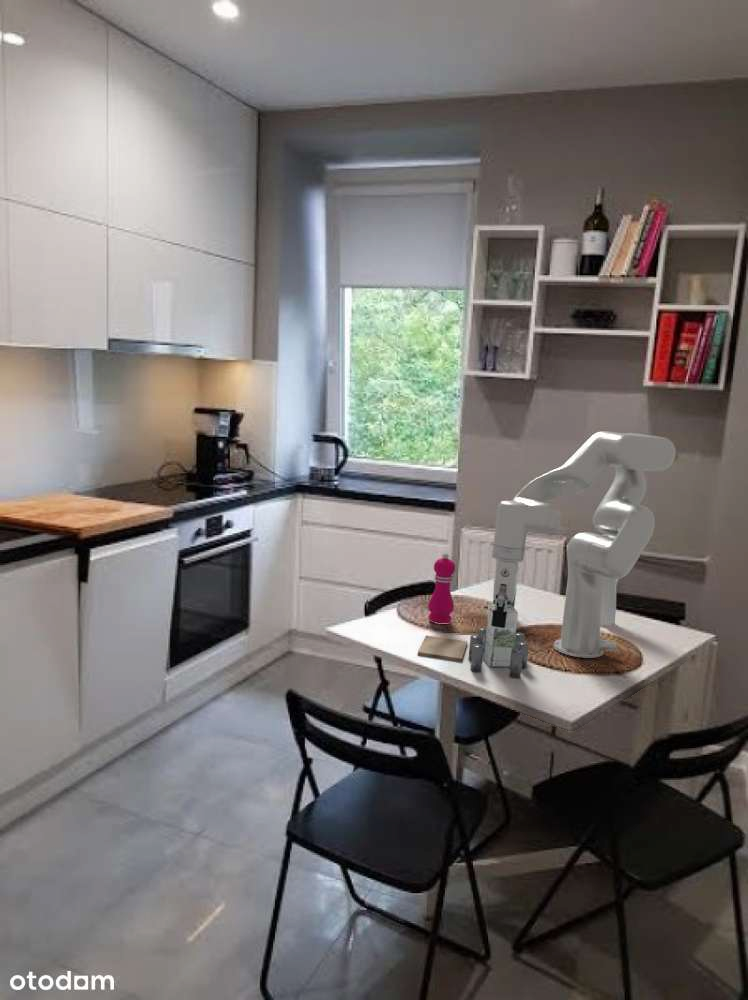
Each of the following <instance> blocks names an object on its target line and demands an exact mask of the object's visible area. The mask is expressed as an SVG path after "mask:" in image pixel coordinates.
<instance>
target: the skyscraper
mask: <svg viewBox="0 0 748 1000" xmlns="http://www.w3.org/2000/svg"><path fill="white" fill-rule="evenodd" d="M601 536H605V537H607V538H610V539H615V538H616V537H614V536H611V535H608V534H605V533H604V534H601ZM603 578H604V583H605V594H604V600H603V608H602V616H601V624H600V627H601V626H602V627H605V628H608V627H609V626H612V625H614V624H616V615H617V614H616V613H617V612H616V611H617V584H618V582H619V580H620V579H611V578H608V577H605V576H603Z"/></svg>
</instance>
